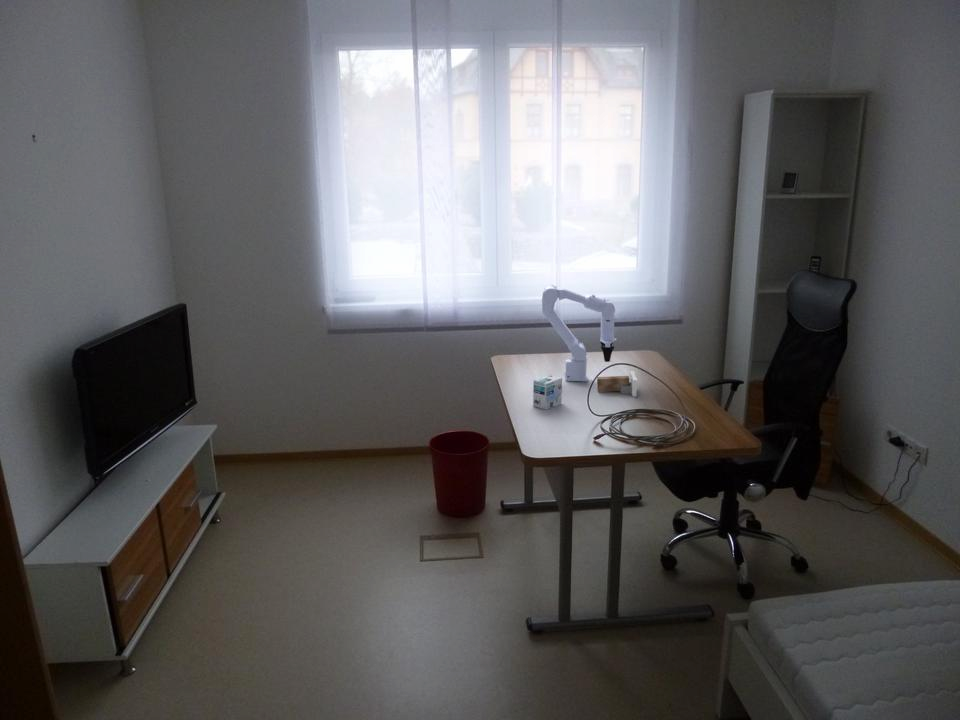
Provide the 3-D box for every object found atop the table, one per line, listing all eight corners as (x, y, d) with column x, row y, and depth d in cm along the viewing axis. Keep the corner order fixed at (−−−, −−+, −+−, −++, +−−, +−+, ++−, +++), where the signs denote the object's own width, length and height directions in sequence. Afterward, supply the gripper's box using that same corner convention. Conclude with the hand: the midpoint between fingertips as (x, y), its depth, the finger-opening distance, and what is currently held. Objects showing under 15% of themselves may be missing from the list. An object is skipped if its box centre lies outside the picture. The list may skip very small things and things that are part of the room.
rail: (597, 391, 289) (597, 379, 287) (597, 389, 292) (597, 376, 291) (629, 390, 287) (629, 378, 286) (628, 388, 290) (628, 375, 289)
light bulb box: (545, 410, 267) (546, 383, 265) (532, 406, 272) (532, 380, 269) (562, 403, 275) (563, 377, 272) (548, 399, 279) (549, 374, 277)
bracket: (621, 396, 283) (622, 379, 281) (618, 386, 296) (619, 370, 294) (636, 396, 283) (637, 380, 281) (632, 386, 295) (633, 371, 293)
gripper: (617, 332, 292) (616, 363, 295) (615, 325, 305) (615, 355, 309) (600, 332, 293) (600, 363, 296) (599, 325, 306) (599, 354, 310)
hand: (606, 359), depth 303 cm, fingers open, 7 cm apart
